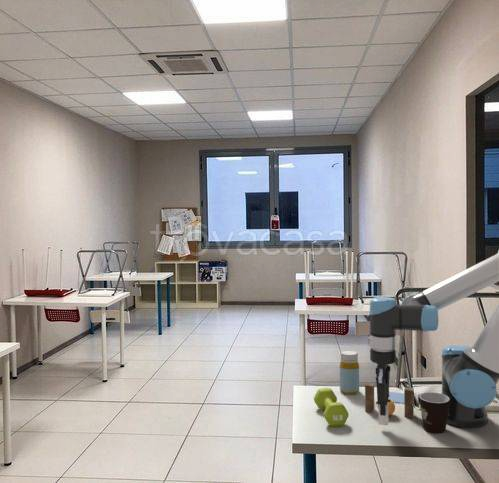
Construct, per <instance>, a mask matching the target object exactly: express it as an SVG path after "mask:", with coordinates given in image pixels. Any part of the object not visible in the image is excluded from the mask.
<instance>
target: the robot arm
mask: <svg viewBox="0 0 499 483" xmlns="http://www.w3.org/2000/svg"><path fill="white" fill-rule="evenodd" d="M498 282H499V249H498V251H497V253H495V255H494V254H493V255H492V256H489V257H488V258H486V259H484V260H482V261H479V262H478V263H476V264H473V265H472V266H469V268H466V269H464V270H463V271H460V272H458V273H456V274H454V275H452V276H450V277H448V278H446V279H444V280H442V281H440V282H439V283H437V284H434V285H432V286H430V287H428V288H426V289H424V290H423V291H421V292H418V293H416V294H410V295H409V294H408V295H407V296H406V297H404V298H403V300H402V302H401V304H397V303H396V299H395V298H393V297H389V296H378V297H377V296H375V297H373V298H371V300H370V302H369V334H370V336H368V337H367V340H369V341H370V342H369V344H370V346H369V347H370V350H369V352H370V353H369V358H370V361H371V362H372V363H374V364H376V367H375V375H376V376H375V383H376V400H377V401H376V402H375V404H376V405H377V406H378V405H379V410H378V425H382V426H389V416H388V403H387V402H391V400H390V399H388V398H389V392H390V380H391V379H390V378H391V375H390V374H391V373H390V372H391V366H390V365H393V364H395V363H396V361H397V351H396V348H397V335H396V331H415V332H416V331H417V332H433V331H437V330H438V328H439V310H442V309H444V308H446V307H448V306H451V305H452V304H454V303H456V302H458V301H461V300H463V299H465V298H467V297H469V296H472V295H473V294H475V293H478V292H479V291H482V290H484V289H486V288H488V287H490V286H492V285H494V284H496V283H498ZM440 357H441V394H444V395H446V396H448V397H449V407H448V415H447V423H446V424H448V425H450V426H451V425H452V426H454V427H455V426H456V427H460V428H469V429H470V428H471V429H472V428H479V427H483V426H486V424H487V423H488V419H489V416H488V411H487V408H486V407H487V406H488V405H490V404H491V403H492V402H494V400H495V398H496V396H497V384H498V382H499V303H498V304H497V306H496V307H495V309H494V311H493V312H492V314H491V315H490V317H489V319H488V321H487V322H486V324H485V325H484V327H483V329H482V330H481V332H480V334H479V335H478V337H477V338H476V340H475V342H474V343H473V345H472V346H468V345H447V346H443V347H442V349H441V356H440Z"/></svg>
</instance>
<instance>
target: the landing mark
mask: <svg viewBox="0 0 499 483" xmlns="http://www.w3.org/2000/svg"><path fill="white" fill-rule="evenodd" d="M388 399H391V400H392V401H393V402H394V404H396V403H397V404H404V392H395V391H389V398H388Z"/></svg>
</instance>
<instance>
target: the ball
mask: <svg viewBox="0 0 499 483" xmlns="http://www.w3.org/2000/svg"><path fill="white" fill-rule="evenodd" d="M390 400H391V399H390ZM387 403H388V417H389V416H391V415H393V414H394V413H395V411H396V403H395V402H393V401H392V400H391V402H387ZM377 410H378V411H379V405H378V404H377Z"/></svg>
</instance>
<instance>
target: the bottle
mask: <svg viewBox="0 0 499 483" xmlns="http://www.w3.org/2000/svg"><path fill="white" fill-rule="evenodd" d="M358 359H359V358H358V351H356V350H353V349H344V350H341V351H340V362H339V391H340V393H341V394H342V395H347V396H355V395H358V393H359V392H360V364H359V362H358V361H359V360H358Z"/></svg>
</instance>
